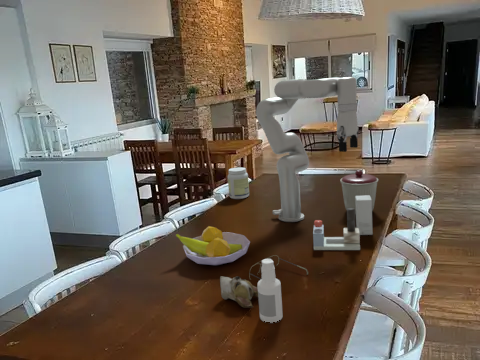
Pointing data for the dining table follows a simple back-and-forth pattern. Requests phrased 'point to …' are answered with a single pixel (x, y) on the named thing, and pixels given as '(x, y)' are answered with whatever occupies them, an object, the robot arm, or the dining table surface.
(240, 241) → the fruit bowl
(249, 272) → the eyeglasses
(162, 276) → the dining table surface
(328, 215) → the dining table surface
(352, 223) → the carriage
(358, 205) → the skincare box
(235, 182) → the supplement tub
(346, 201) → the canister
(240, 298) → the ceramic sculpture
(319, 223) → the button
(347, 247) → the rail board
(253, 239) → the dining table surface
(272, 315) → the white bottle
